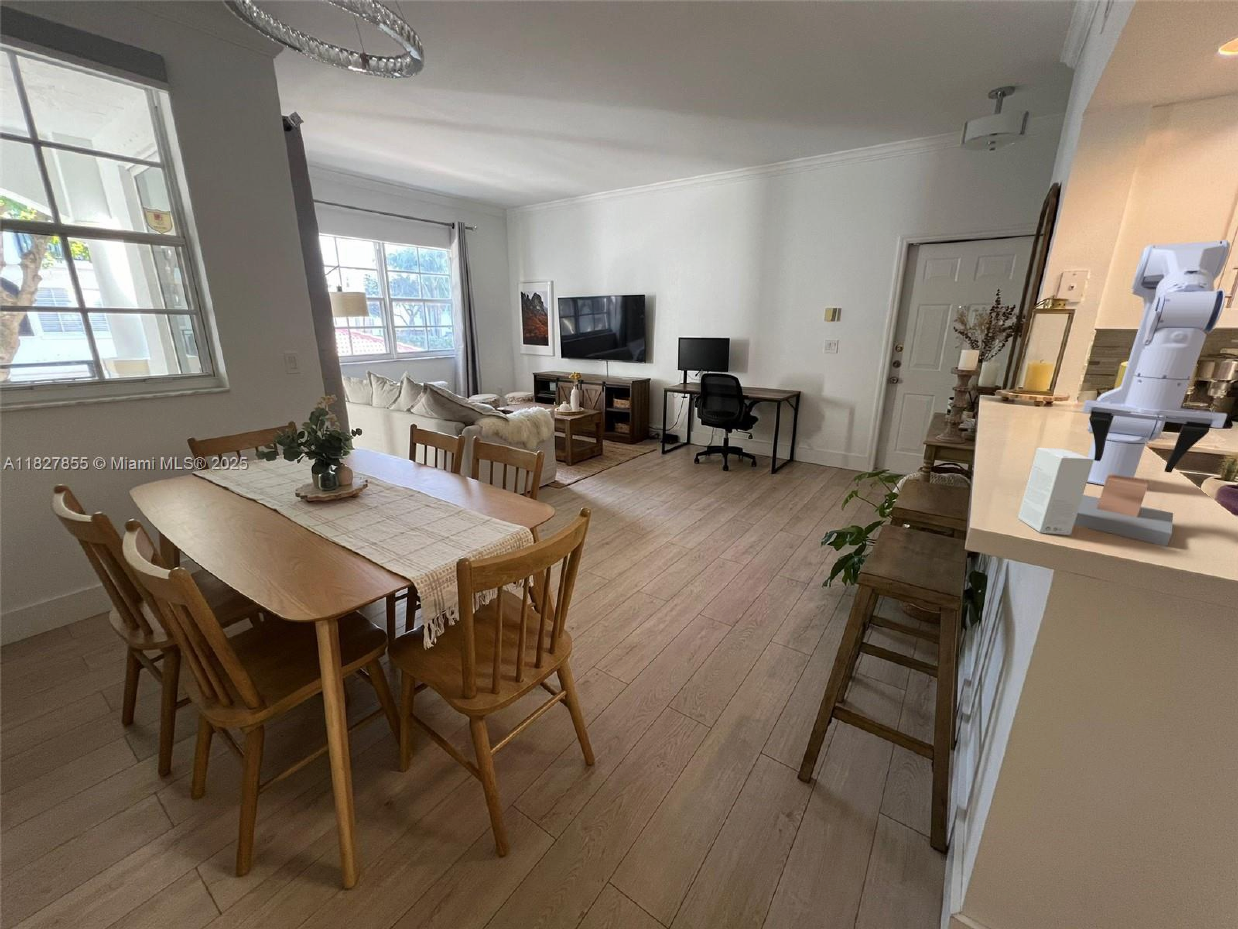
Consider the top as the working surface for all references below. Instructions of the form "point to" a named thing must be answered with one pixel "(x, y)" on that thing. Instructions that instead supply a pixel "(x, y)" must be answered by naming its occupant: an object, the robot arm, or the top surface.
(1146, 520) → the slate base board
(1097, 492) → the top surface
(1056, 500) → the skincare box
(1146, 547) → the top surface
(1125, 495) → the terracotta cube
